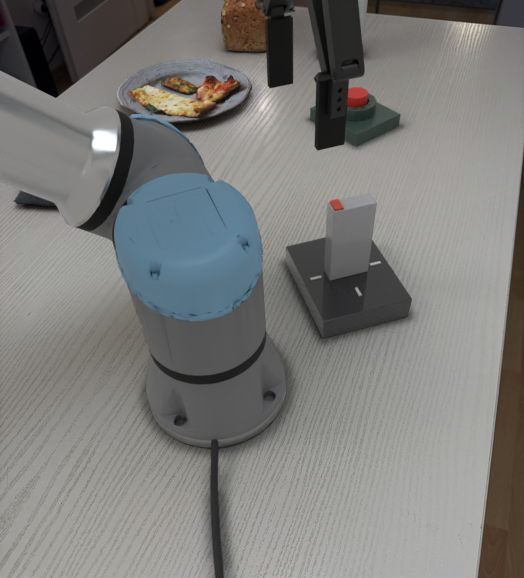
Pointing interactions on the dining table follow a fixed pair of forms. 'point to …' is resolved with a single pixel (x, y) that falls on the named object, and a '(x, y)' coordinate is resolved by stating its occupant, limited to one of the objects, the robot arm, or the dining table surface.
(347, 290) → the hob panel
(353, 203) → the grey block red corner
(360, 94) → the power button
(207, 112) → the food plate
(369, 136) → the switch box
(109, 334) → the dining table surface
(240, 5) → the bread
